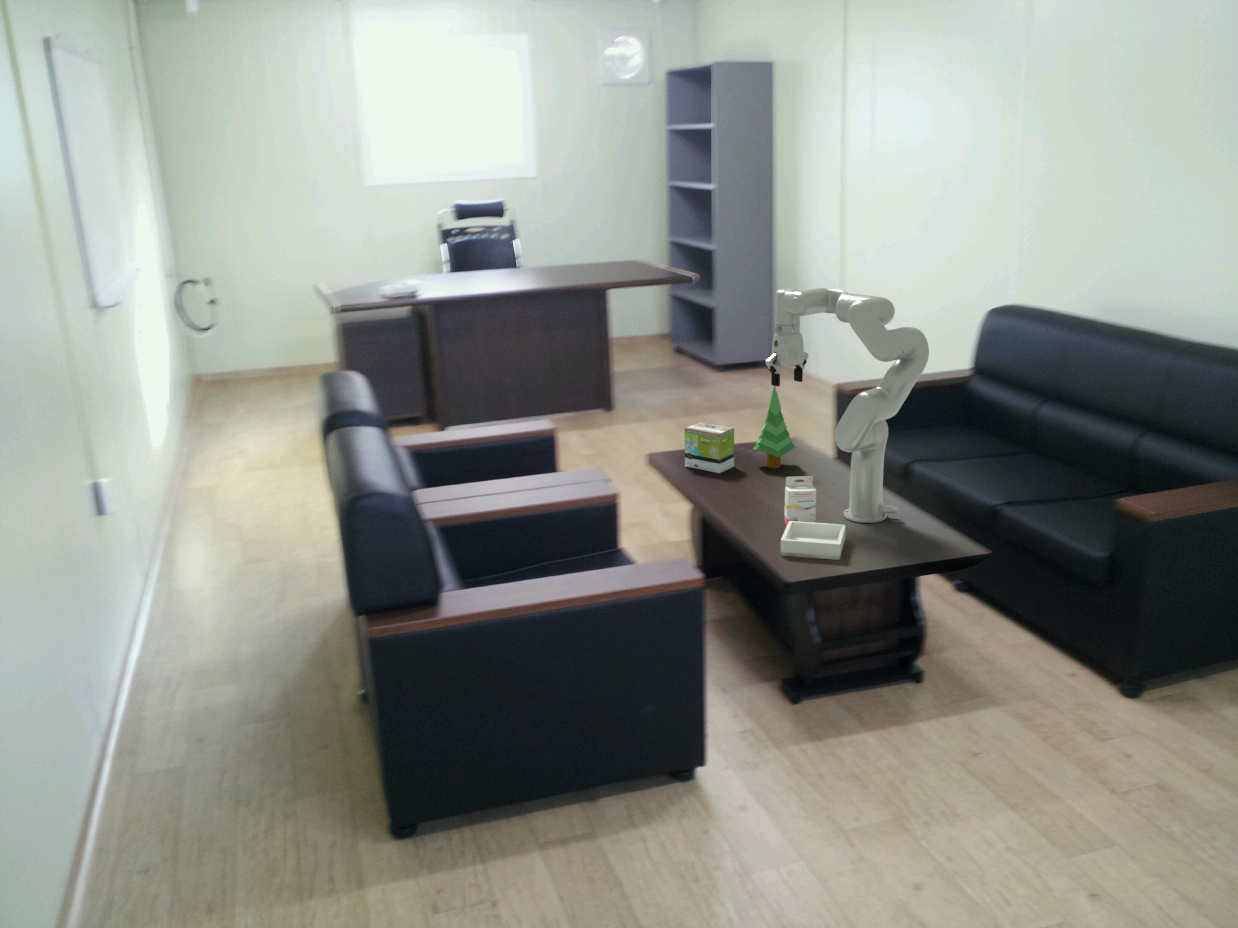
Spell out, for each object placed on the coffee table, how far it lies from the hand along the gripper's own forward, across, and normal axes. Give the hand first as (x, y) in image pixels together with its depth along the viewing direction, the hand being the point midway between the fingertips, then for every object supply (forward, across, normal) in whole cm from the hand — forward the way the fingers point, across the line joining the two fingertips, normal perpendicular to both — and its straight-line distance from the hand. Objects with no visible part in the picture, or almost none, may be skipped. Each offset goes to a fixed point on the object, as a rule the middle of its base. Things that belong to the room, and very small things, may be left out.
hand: (787, 383), depth 326 cm
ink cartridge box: (+37, -18, -24) cm, 48 cm away
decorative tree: (+37, +18, +26) cm, 48 cm away
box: (+37, -27, -39) cm, 60 cm away
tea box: (+37, +1, +40) cm, 54 cm away
